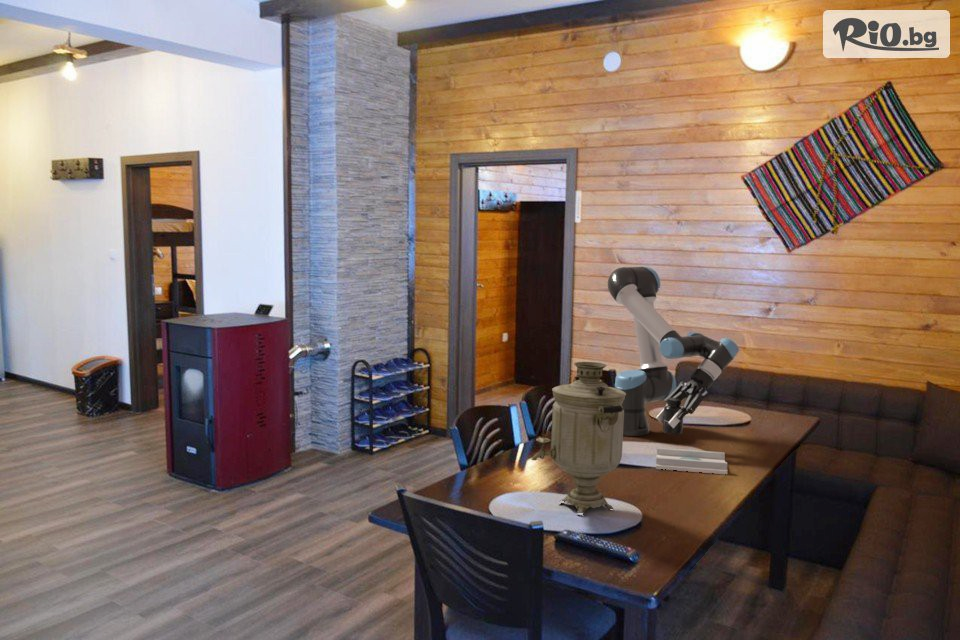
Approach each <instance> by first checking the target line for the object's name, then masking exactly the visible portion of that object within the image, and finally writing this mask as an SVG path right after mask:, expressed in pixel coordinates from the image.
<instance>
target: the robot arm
mask: <svg viewBox="0 0 960 640" xmlns="http://www.w3.org/2000/svg"><path fill="white" fill-rule="evenodd" d="M660 287H661V279H660V276H659V274H658V273H657V271H655V269H653V268H652V267H649V266H648V267H647V266H633V267H632V266H629V267H628V266H627V267H626V266H623V267H618V268H616V269H614V270H613V271H612V272H611V273H610V274H609V276H608V279H607V290H608V292H609V294H610V295H611V297H612V298H613V300H614V301H616V303H617V304H619V305H622V306H624V307H625V308H626V309H627V311H628V312H629V313H630V314H631V315H632V317H633V322H634V328H635V329H634V330H635V335H636V342H637V348H638V355H639V362H640V365H639V367H638V368H637V369H631V370H630V369H628V370H627V369H626V370H623V371H620V372H619V373H617V374H616V375H615V379H614V380H615V383H614V388H616V389H619V390H621V391H623V392H625V393H626V395H625V399H624V401H623V404H621V405H622V407H624V423H623V437H624V436H627V437H639V436H640V437H641V436H646V435H649V434H650V424H649V421H648V418H647V415H646V404H647V403H653V402H662V401H664V402H665V405H664V407H665V406H667V405H668V404H667V399H668V398H679V399H681V401H683V400H684V399H685V398H686V400H685V402H684V405H683V406H681V409H682V410H681V409H679V410H678V412H677V413H676V414H675V415H674V416H673V418H672V419H671V420H670V421H669V422H668V423H669V424H670V425H671V427H672V428H674V427H675V426H676V425H677V424H678V423H679V421H680V420H682V419H683V420H684V417H686V415H689V414H690V415H693V414H694V413H695V411H696V409H697V408H698V407H699V405H701V403H702V402H703V400H704V399H705V398H706V397H707V396H708V395H709V392H708V391H707V390H709V388H710V387H711V386H712V385H713V383H714V381H715V380H716V379H718V377H719V376H720V375H721V374H722V372H724V370H725V369H726V368H727V366H729V365H730V364H731V362H732V361H734V359H735V357H736V356H737V355H738V353H740V351H739V350H740V349H739V345H737V343H736V342H735V341H734V340H732V339H731V338H728V337H722V338H721V339H720V340H715V339H712V338H710V337H708V336H706V335H705V334H702V333H701V332H696V331H689V333H687V334H686V335H685V336H681V335H680V334H679V332H677V330H675V328H673V326H671V324H670V323H668V321H667V320H666V319H665V318H664V317H663V316H662V315H661V314H660V313H659V312H658V310H657V309H655V305H654V304H655V303H654V302H655V301H656V299H657V294H658V292H659V290H660V289H661V288H660ZM698 356H699V357H701V358H703V360H702V362H700V364H699V365H698V366H697V368H696V369H694V371H693V372H692V373H691V375H690V380H689V381H687V382H684V381H680V382H679V384H678V386H677V380H676V377H675V376H674V374H673V372H672V371H670V370H668V365H667V364H666V363H665V362H663V357H664V358H665V359H669V360H671V359H673V360H675V359H676V360H677V359H682V358H691V357H698ZM664 407H663V408H662V409H661V411H660V412H659V413H658V414H657V416H656V417H655V419H656V420H657V421H658V422H659V423H660V424H661V423H662V424H663V416H664Z"/></svg>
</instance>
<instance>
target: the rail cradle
mask: <svg viewBox="0 0 960 640" xmlns="http://www.w3.org/2000/svg"><path fill="white" fill-rule="evenodd" d="M725 454H726V453H725V451H711V450H696V449H695V450H694V449H684V448H683V449H682V448H681V449H680V448H667V447H666V448H665V447H657V448H656V457H655V458H656V459H655V460H656V462H655V470H661V469H663V470H662V471H673V470H677V472H686V471H688V473H699V472H702V473H703V474H712V473H714V475H725V474H726V475H728V471H729V470H728V462H727V461H726V458H725V457H726V455H725ZM665 469H666V470H665ZM702 473H701V474H702Z"/></svg>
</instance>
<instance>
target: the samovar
mask: <svg viewBox="0 0 960 640" xmlns="http://www.w3.org/2000/svg"><path fill="white" fill-rule="evenodd" d="M573 365H574V366H575V367H576V375H577V376H574V379H575V380H574V381H572V382H571V383H569V384H561V385H557V386H554V387H553V388H551V390H552V396H553V398H554V403H553V404H552V414H551V415H552V417H551V437H550V438H551V439H550V438H548V437H545V436H542V437H538V438H536V439H535V441H536V442H539V443H541V446H540V449H539V451H538V452H536V453H535V454H534V455H533V456H532V458H531V461H537V460H538V458H539V459H542V460H543V459H545V457H546V456H550V459H551V460H553V461H554V463H555V465H556V466H558V468H559V469H561V470H562V471H564V473H566V474H567V475H570V476H572V482H573V484H575V485H576V486H577V487H575V488H573V489H572V490H571V491H570V492H568V493H567V495H566V496H565V497H564V498H563V499H561V500H562V501H564V502H565V503H567V504H569V505H571V506H574V507H575V508H576V509H577V512H578V513H584V514H585V512H586V511H587V509H589V508H593V509H596V508H600V507H601V506H603V507H604V508H607V509H608V510H610V509H614V507H613V505H611V504H609V503H608V501H607V500H606V498H605V496H604V495H605V494H603V493H602V492H601V491H600V490H598V489H596V488H595V487H596V486H598V485H599V484H600V477H603V476H606V475H608V474H609V473H611V471H614V470H615V469H617V467H618V466H619V465H620V463H621V460H622V457H623V442H624V439H623V438H624V435H623V423H624V407H622V405H621V404H623V401H624V399H625V395H626V393H625V392H623V391H621V390H619V389H616V388H615V387H612V386H608V384H607V383H605V382H604V381H601V378H602V377H603V370H604V368H606V367H607V366H608V364H606V363H603V362H596V361H576V362H574V363H573ZM549 442H550V451H549V450H548V451H547V450H546V449H545V444H546V443H549Z"/></svg>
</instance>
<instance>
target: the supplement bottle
mask: <svg viewBox="0 0 960 640" xmlns="http://www.w3.org/2000/svg"><path fill="white" fill-rule="evenodd" d="M667 404H668V405H667V406H665V405H664V406H663V408H664V416H663V421H662V431H663V433H664V434H668V435H680V434H681V435H682V434H683V428H684V418H683V419H682V420H680V421H679V423H678V424H677V425H676V426H675V427H674V428H672V427H671V425H670V424H669V423H668V422H669V421H670V420H671V419H672V418H673V416H674V415H675V414H676V413H677V412H678V410H679V409H681V407H682V400H681V399H679V398H668V399H667ZM681 410H682V409H681Z"/></svg>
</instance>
